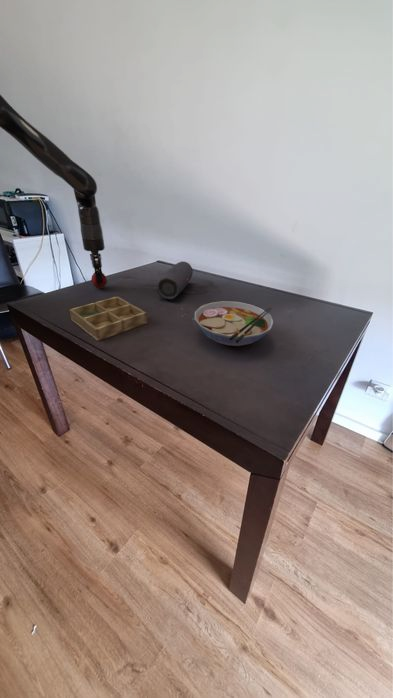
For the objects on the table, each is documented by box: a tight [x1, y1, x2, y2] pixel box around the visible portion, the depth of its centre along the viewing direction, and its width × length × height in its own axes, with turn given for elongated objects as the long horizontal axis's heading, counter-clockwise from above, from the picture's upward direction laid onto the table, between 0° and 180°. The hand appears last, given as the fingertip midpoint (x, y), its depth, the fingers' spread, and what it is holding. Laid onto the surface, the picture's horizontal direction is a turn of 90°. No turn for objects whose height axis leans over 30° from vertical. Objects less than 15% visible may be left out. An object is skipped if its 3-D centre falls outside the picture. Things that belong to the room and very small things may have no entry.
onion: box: [90, 269, 108, 290], centre depth 114 cm, size 6×6×8 cm
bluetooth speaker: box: [156, 261, 194, 300], centre depth 113 cm, size 23×9×10 cm, turn 167°
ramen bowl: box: [194, 300, 274, 347], centre depth 84 cm, size 25×23×8 cm
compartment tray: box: [68, 296, 148, 342], centre depth 91 cm, size 17×17×4 cm
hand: (99, 280), depth 114 cm, fingers closed on onion, 6 cm apart
